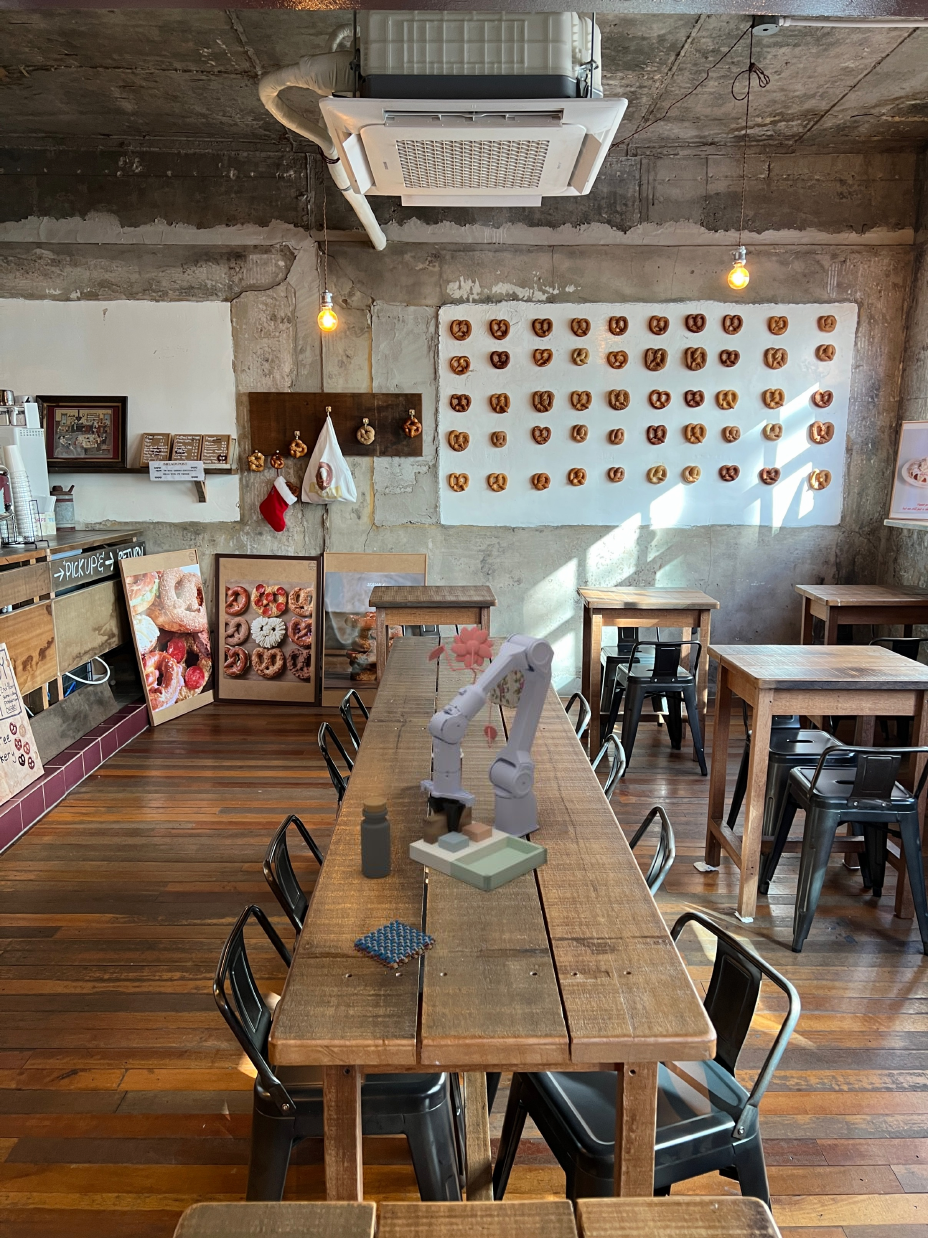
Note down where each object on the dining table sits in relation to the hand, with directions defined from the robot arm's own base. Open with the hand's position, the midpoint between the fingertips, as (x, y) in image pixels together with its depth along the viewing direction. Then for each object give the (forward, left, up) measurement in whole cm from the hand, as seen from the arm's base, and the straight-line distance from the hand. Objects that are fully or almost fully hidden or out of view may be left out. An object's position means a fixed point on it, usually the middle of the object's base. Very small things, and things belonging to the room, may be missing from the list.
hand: (447, 830), depth 185 cm
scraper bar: (0, 0, -1) cm, 1 cm away
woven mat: (+34, +22, -5) cm, 41 cm away
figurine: (-59, -49, -4) cm, 77 cm away
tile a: (-4, +5, -1) cm, 6 cm away
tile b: (+4, +5, -1) cm, 6 cm away
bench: (0, +4, -4) cm, 5 cm away
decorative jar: (-101, -70, -4) cm, 123 cm away
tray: (0, +15, -4) cm, 15 cm away
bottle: (+18, -2, -4) cm, 19 cm away
